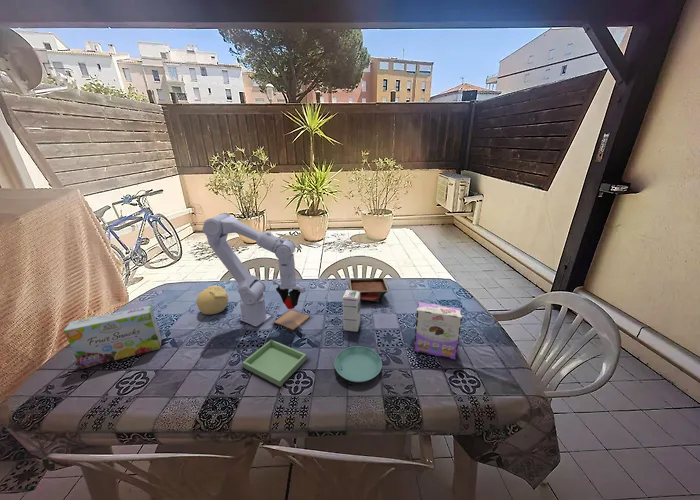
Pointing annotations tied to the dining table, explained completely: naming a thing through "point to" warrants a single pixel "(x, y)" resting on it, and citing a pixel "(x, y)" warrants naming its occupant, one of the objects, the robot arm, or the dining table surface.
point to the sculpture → (212, 300)
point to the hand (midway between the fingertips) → (290, 304)
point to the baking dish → (369, 288)
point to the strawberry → (288, 302)
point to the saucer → (358, 364)
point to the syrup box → (351, 310)
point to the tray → (275, 362)
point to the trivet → (292, 319)
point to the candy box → (437, 330)
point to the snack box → (113, 336)
